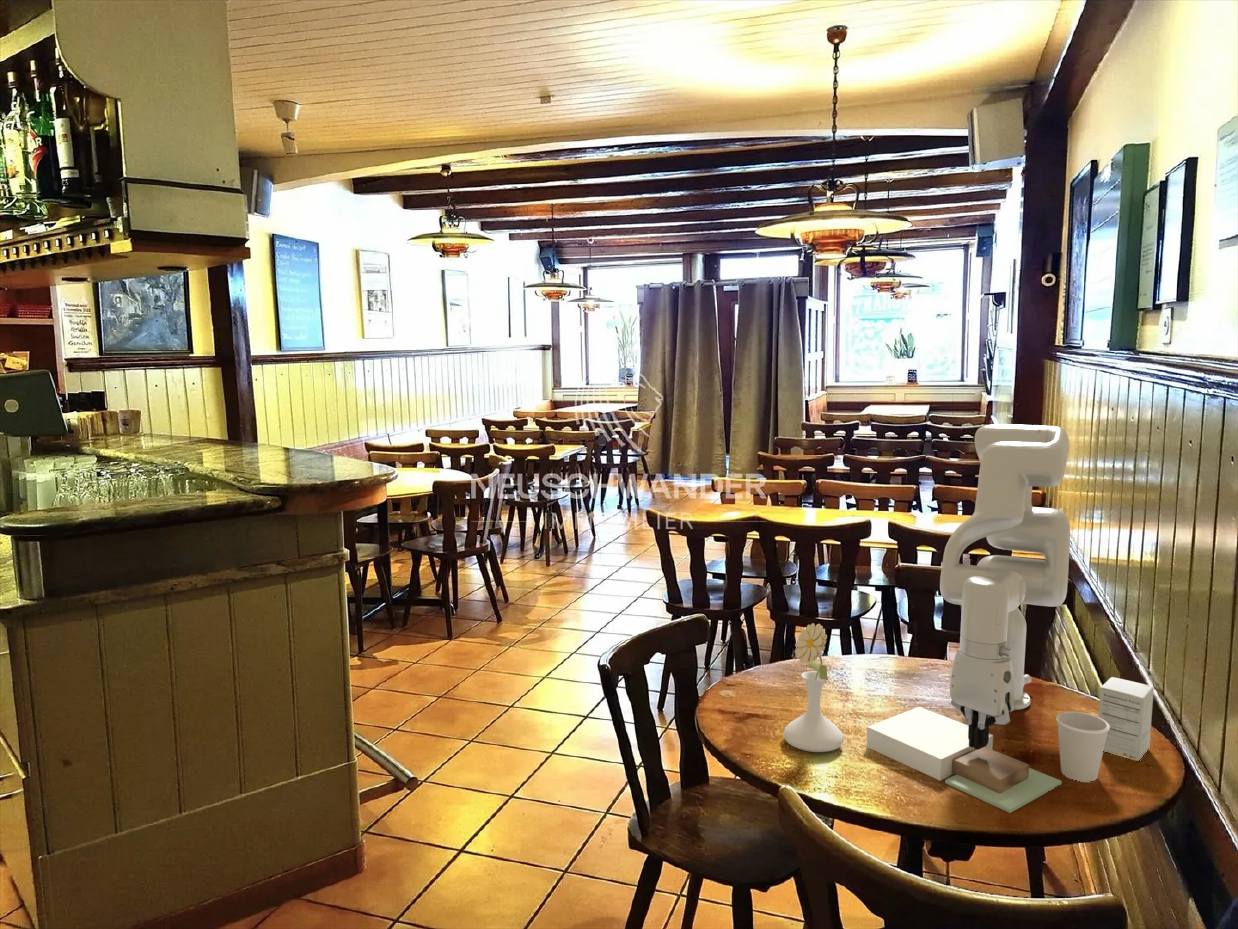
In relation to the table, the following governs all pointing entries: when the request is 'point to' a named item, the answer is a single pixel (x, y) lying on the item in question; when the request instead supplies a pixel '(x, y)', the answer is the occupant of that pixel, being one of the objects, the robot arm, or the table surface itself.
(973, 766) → the walnut block
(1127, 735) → the supplement box
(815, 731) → the flower in vase
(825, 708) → the table surface
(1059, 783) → the green mat
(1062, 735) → the dixie cup
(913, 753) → the flat white rectangular box
